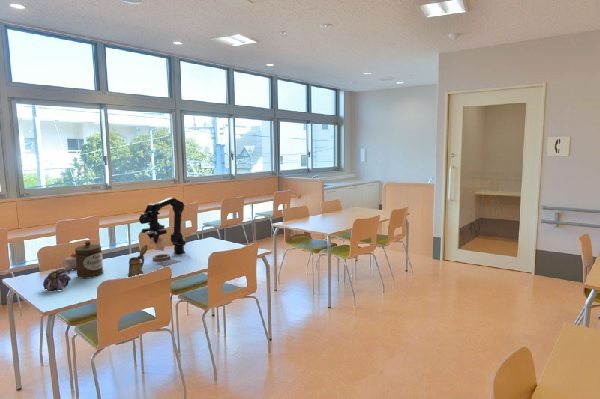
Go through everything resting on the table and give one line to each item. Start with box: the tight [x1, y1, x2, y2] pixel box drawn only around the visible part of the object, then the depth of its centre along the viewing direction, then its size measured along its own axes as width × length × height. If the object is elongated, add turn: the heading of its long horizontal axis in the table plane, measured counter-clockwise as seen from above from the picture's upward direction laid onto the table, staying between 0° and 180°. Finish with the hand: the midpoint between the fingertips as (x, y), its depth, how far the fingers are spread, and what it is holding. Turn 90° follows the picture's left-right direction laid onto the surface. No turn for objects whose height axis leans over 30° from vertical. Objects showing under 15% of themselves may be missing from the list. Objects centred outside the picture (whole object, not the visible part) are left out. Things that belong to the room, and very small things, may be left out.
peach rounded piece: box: [149, 236, 167, 252], centre depth 287 cm, size 12×7×9 cm, turn 154°
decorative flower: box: [42, 268, 72, 292], centre depth 232 cm, size 15×12×15 cm
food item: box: [62, 253, 77, 271], centre depth 271 cm, size 14×8×10 cm, turn 141°
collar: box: [152, 253, 171, 262], centre depth 292 cm, size 12×12×2 cm
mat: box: [157, 259, 182, 267], centre depth 282 cm, size 13×9×1 cm
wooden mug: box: [127, 244, 148, 278], centre depth 256 cm, size 9×14×18 cm, turn 142°
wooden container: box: [75, 240, 104, 279], centre depth 256 cm, size 15×15×22 cm
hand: (154, 243), depth 285 cm, fingers closed on peach rounded piece
